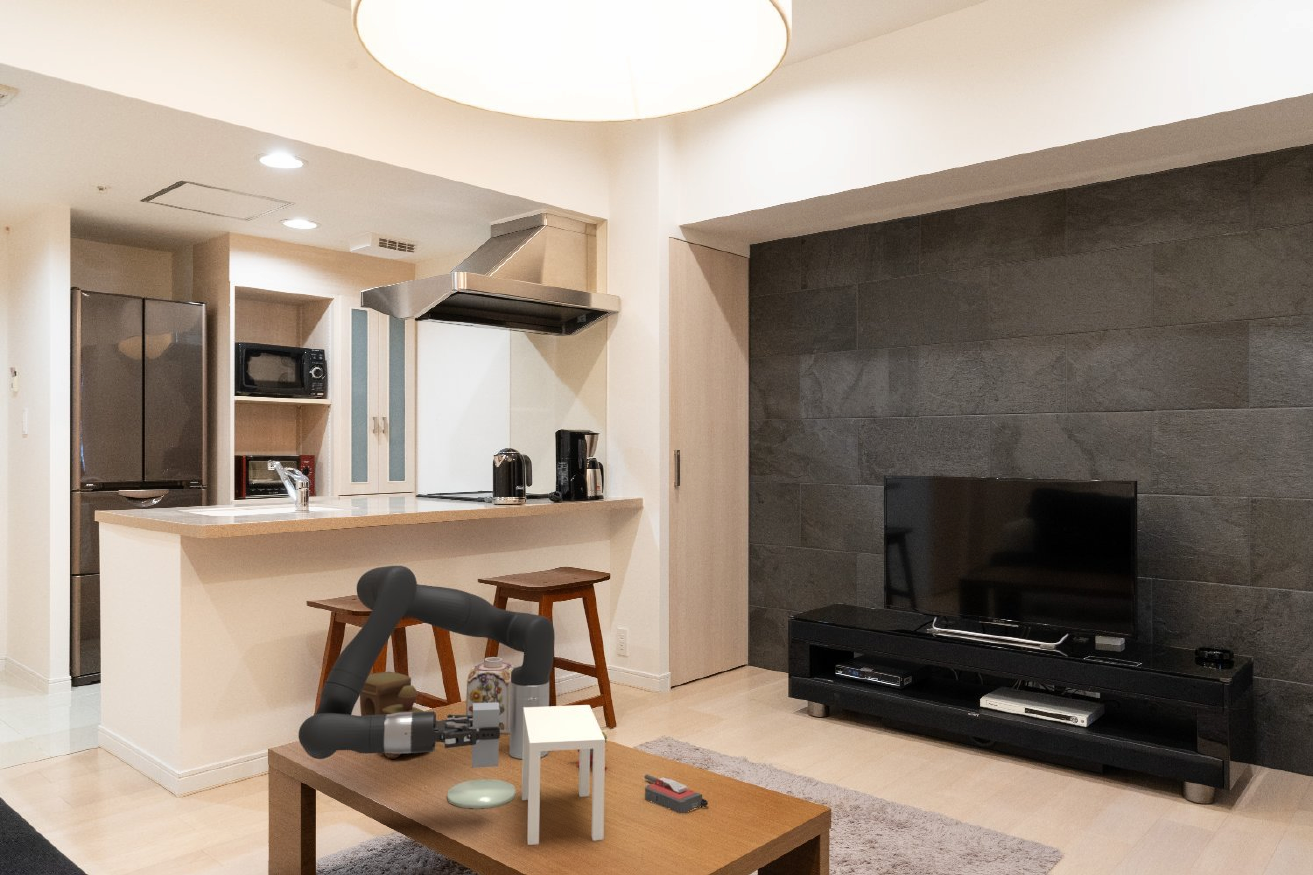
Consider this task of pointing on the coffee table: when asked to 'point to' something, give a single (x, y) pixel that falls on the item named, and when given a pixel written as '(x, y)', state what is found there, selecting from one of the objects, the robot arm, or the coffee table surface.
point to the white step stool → (562, 733)
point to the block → (485, 749)
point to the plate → (481, 793)
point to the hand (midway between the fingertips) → (499, 728)
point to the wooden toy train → (388, 696)
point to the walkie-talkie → (672, 795)
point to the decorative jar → (491, 688)
